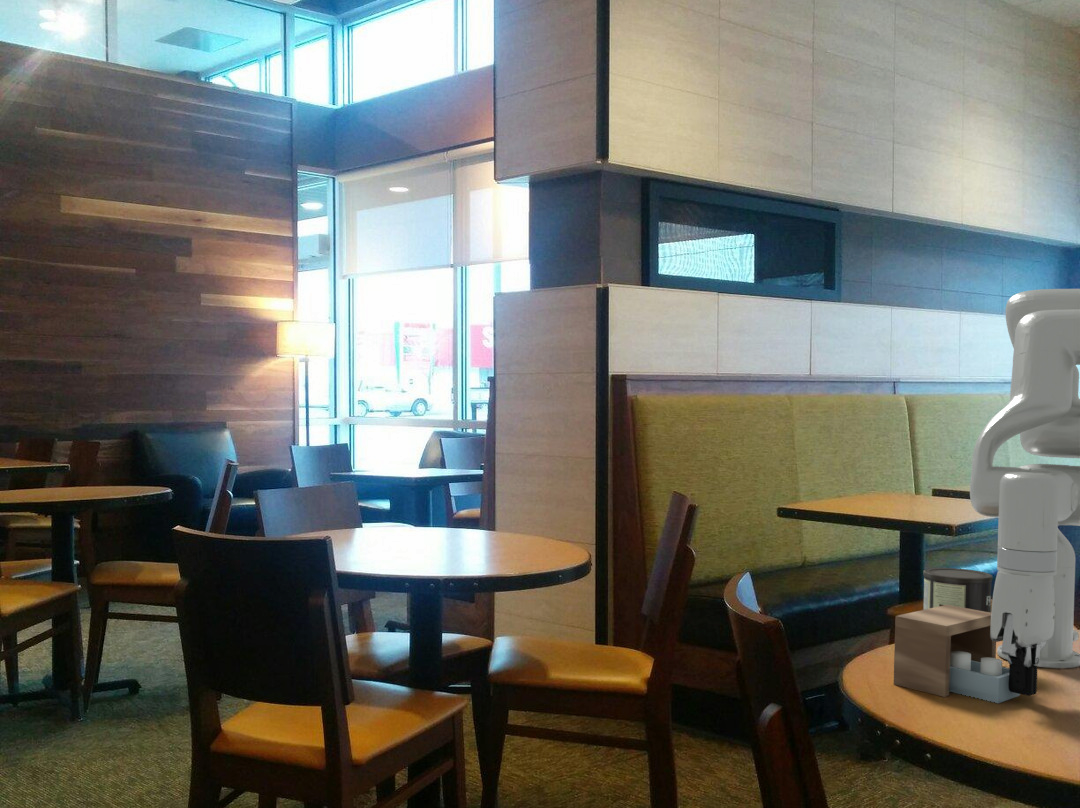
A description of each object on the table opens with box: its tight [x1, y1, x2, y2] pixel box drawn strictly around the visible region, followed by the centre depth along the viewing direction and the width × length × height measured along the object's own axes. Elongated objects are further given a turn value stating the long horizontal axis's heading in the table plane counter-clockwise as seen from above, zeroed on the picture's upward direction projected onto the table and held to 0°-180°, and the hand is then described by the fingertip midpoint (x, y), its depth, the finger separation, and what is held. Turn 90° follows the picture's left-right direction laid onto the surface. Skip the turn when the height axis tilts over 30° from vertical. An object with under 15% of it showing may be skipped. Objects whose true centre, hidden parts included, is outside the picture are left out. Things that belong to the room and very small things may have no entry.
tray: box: [949, 651, 1021, 704], centre depth 154 cm, size 6×10×5 cm, turn 41°
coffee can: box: [923, 567, 993, 613], centre depth 172 cm, size 10×10×14 cm
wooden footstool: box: [893, 605, 997, 698], centre depth 158 cm, size 14×8×10 cm, turn 130°
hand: (1022, 692), depth 149 cm, fingers closed
